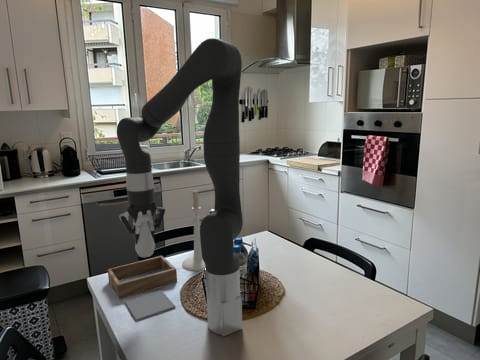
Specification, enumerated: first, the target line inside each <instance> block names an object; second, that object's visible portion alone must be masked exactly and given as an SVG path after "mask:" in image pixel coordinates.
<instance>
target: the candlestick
mask: <svg viewBox="0 0 480 360" xmlns="http://www.w3.org/2000/svg"><path fill="white" fill-rule="evenodd" d="M192 201H193V203H192V207H191V209H192V213H193V214H194V216H193V255H190V256H189V257H187V258H185V259H184V260H183V261H182V268H183V269H185V270H186V271H190V272H202V271H204V270H203V269H204V266H205V263H204V261H203V258H202V252H201V242H200V225H201V222H200V215H199V214H200V212H201V208H202V207H201V206H199V205H200V204H199V202H200V201H199V190H197V189H194V190H192Z"/></svg>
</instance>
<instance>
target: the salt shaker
mask: <svg viewBox="0 0 480 360" xmlns="http://www.w3.org/2000/svg"><path fill="white" fill-rule="evenodd" d="M139 220H140V221H141V226H140V232H139V241H138V242H137V244H136V243H135V246H134V250H135V252H136V253H137V256H138V257H140V258H148V257H151V256H152V255H154V252H155V248H156V244H155V239H154V240H153V238H152V235H151V230H150V226H149V223H148V221H149V217H148V216H147V214H142V217H141V218H140V219H139Z"/></svg>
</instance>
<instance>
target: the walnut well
mask: <svg viewBox="0 0 480 360" xmlns="http://www.w3.org/2000/svg"><path fill="white" fill-rule="evenodd" d="M159 270H160V271H159ZM156 271H159V272H156ZM153 272H156V273H153ZM177 272H178V271H177V268H176V267H175V266H174V265H173V264H172V263H171V262H170V261H169V260H167V258H165V257H164V256H163V255H158V256H154V257H151V258H146V259H143V260H138V261H135V262H132V263H127V264H124V265H123V264H122V265H119V266H115V267H111V268H108V269H107V275H108V277H107V278H108V284H109V285H110V286H111V289H112V290H113V291H114V293H115V295H116V297H117V298H118V300H123V299H126V298H130V297H132V296H133V297H134V296H136V295H139V294H142V293H145V292H149V291H151V290H155V289H159V288H161V287H165V286H169V285H173V284H175V283H178V273H177ZM148 273H151V274H148ZM145 274H148V275H145ZM142 275H144V276H142ZM138 276H141V277H138ZM135 277H136V278H135ZM137 277H138V278H137ZM130 278H131V279H130ZM132 278H133V279H132ZM127 279H130V280H127ZM124 280H127V281H124ZM120 281H123V282H120Z"/></svg>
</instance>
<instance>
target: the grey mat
mask: <svg viewBox="0 0 480 360" xmlns="http://www.w3.org/2000/svg"><path fill="white" fill-rule="evenodd" d="M124 304H125V305H126V307H127V309H128V310H129V312H130V313H131V315H132V317H133V318H134V320H135V322H139V321H141V320H143V319H148V318H149V317H153V316H156V315H159V314H161V313H164V312H167V311H170V310H174V309H176V305H175V304H174V303H173V302H172V301H171V300H170V298H169V297H168V296H167V294H165V292H164V291H163V290H162V289H160V290H156V291H153V292H150V293H146V294H144V295H139V296H137V297H133V298H130V299H127V300H124Z"/></svg>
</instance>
